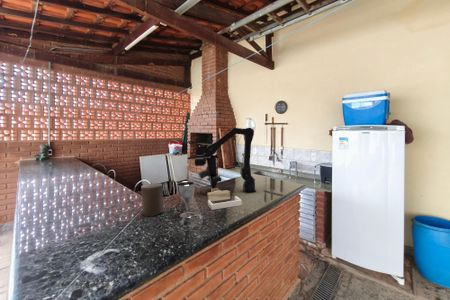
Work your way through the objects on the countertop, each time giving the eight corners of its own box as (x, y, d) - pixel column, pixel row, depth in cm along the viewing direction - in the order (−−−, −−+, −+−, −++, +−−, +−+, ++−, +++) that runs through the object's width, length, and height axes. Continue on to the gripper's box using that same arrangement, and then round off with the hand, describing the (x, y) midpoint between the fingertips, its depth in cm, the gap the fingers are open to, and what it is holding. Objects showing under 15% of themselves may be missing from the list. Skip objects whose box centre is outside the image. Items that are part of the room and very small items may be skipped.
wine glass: (175, 216, 95) (173, 184, 94) (186, 210, 102) (184, 180, 101) (189, 219, 91) (187, 186, 90) (199, 213, 98) (197, 182, 97)
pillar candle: (157, 217, 96) (155, 185, 95) (138, 216, 98) (136, 184, 97) (167, 209, 105) (165, 180, 104) (149, 208, 107) (148, 180, 106)
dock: (236, 200, 114) (236, 196, 114) (241, 204, 107) (241, 200, 107) (208, 204, 109) (207, 200, 109) (211, 209, 102) (211, 204, 102)
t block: (205, 196, 124) (204, 189, 124) (224, 193, 128) (223, 187, 128) (209, 201, 114) (209, 194, 114) (230, 198, 118) (229, 191, 117)
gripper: (196, 164, 134) (197, 188, 136) (202, 169, 117) (203, 196, 118) (212, 162, 138) (213, 186, 139) (221, 167, 120) (222, 193, 121)
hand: (213, 190), depth 129 cm, fingers closed
